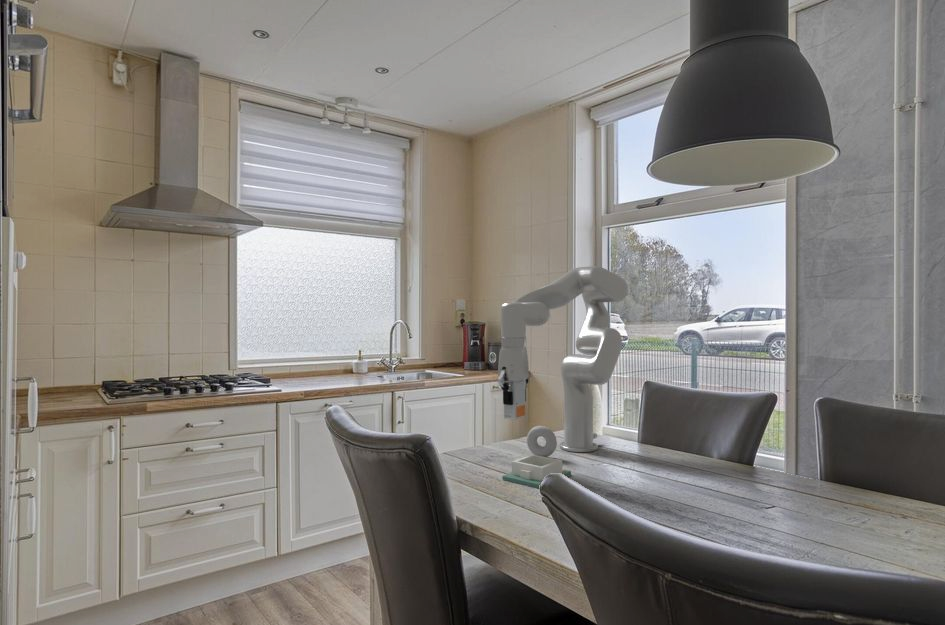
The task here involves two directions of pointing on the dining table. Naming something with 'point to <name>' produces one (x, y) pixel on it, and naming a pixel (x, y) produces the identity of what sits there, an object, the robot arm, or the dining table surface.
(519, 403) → the skincare box
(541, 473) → the board
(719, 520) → the dining table surface
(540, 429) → the donut
